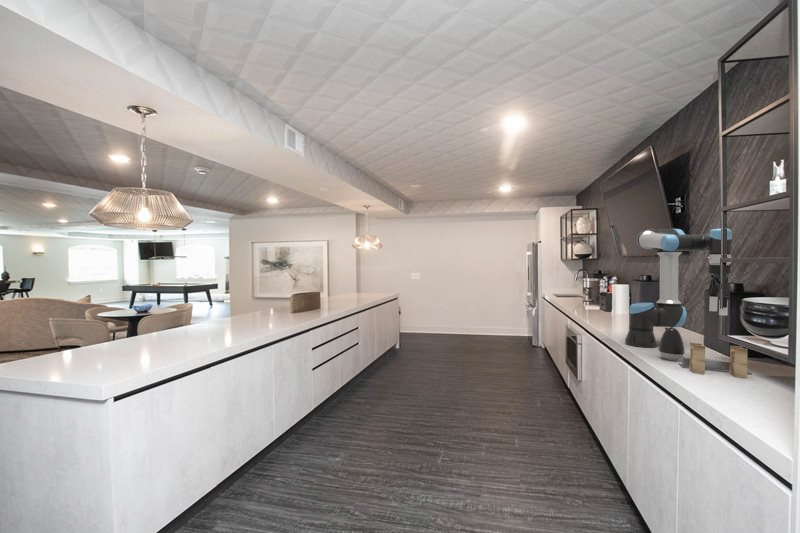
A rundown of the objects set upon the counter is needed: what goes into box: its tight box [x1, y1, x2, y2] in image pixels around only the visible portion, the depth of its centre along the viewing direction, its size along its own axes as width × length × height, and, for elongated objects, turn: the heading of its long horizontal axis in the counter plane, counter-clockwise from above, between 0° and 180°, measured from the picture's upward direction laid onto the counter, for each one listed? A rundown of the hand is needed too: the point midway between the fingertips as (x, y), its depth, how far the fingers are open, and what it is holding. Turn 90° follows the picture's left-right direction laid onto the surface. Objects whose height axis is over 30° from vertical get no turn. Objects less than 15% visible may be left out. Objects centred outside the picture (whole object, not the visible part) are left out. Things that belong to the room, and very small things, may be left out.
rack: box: [689, 342, 749, 379], centre depth 168 cm, size 6×18×12 cm, turn 67°
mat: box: [678, 362, 753, 375], centre depth 175 cm, size 7×24×1 cm, turn 67°
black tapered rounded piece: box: [658, 327, 686, 362], centre depth 192 cm, size 10×10×15 cm
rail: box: [682, 356, 730, 370], centre depth 175 cm, size 3×22×4 cm, turn 67°
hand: (718, 313), depth 176 cm, fingers open, 13 cm apart
